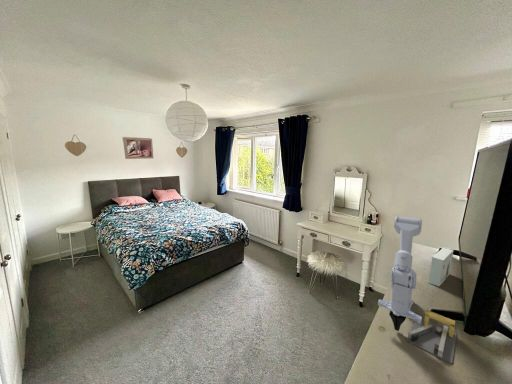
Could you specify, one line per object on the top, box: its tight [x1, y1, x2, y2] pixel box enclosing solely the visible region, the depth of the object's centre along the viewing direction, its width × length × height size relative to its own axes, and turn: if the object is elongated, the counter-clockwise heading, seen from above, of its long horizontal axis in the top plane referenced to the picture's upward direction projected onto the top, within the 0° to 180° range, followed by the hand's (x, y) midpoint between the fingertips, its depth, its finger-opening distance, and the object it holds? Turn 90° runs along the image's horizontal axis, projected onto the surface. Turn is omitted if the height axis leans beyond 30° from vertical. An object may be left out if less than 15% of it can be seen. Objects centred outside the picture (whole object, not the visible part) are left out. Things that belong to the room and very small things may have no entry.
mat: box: [406, 318, 458, 365], centre depth 83 cm, size 18×13×1 cm
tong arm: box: [407, 324, 433, 341], centre depth 83 cm, size 12×2×2 cm, turn 108°
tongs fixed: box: [434, 324, 449, 359], centre depth 80 cm, size 16×3×2 cm, turn 133°
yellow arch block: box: [424, 309, 456, 338], centre depth 85 cm, size 3×9×6 cm, turn 43°
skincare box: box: [427, 247, 454, 287], centre depth 121 cm, size 21×6×16 cm, turn 126°
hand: (397, 329), depth 86 cm, fingers closed
